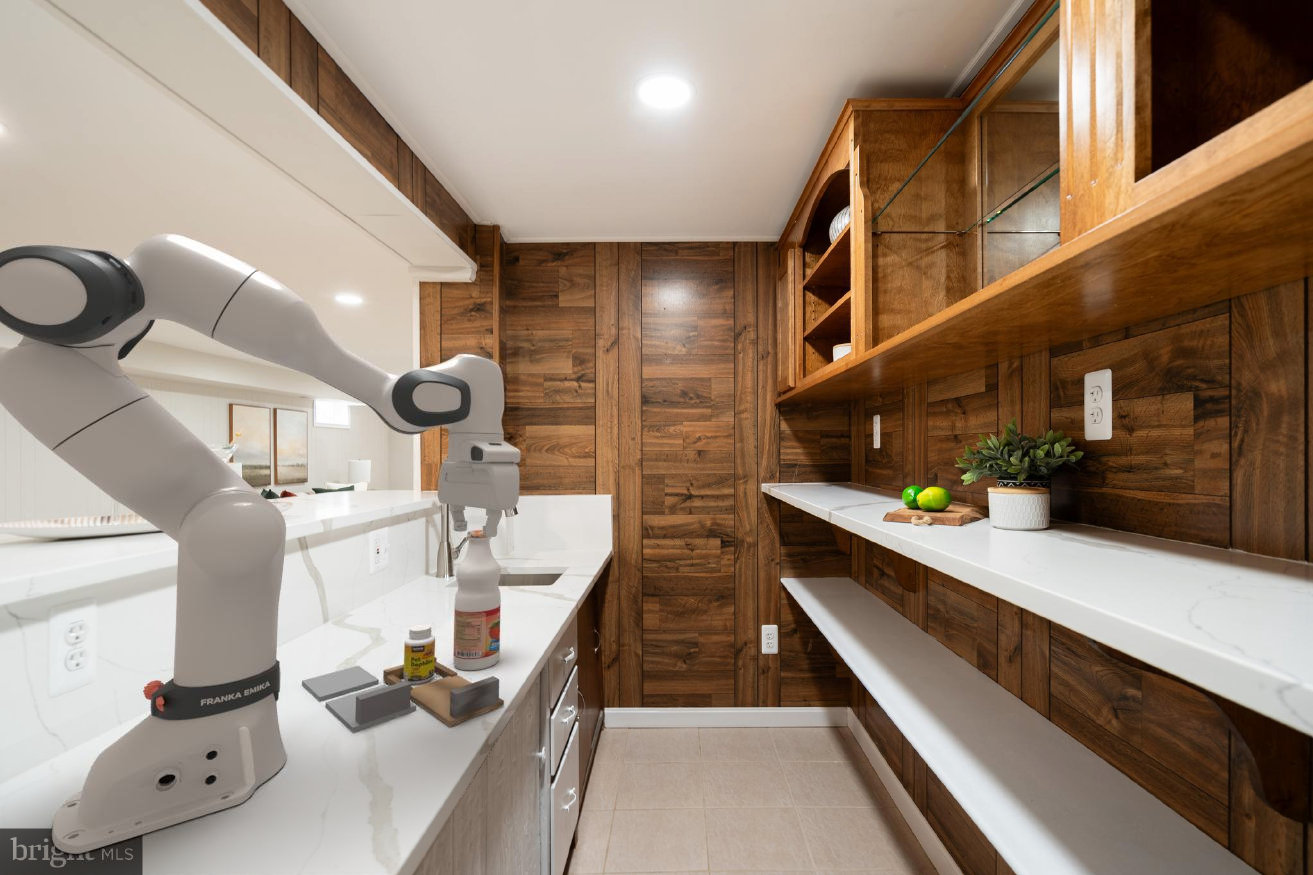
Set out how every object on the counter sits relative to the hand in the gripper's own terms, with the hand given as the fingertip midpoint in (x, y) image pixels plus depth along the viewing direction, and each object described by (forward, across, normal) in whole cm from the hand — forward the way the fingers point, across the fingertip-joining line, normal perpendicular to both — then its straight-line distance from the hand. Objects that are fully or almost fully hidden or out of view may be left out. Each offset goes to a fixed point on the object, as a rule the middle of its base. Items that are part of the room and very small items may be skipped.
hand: (474, 533), depth 88 cm
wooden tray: (+31, -15, +2) cm, 35 cm away
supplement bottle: (+31, -23, +2) cm, 39 cm away
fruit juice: (+31, -23, +14) cm, 41 cm away
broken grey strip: (+31, -25, -9) cm, 41 cm away
